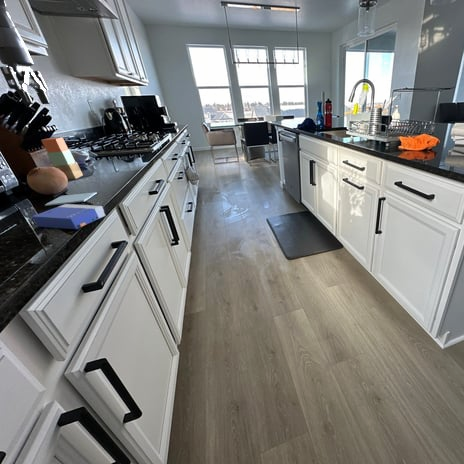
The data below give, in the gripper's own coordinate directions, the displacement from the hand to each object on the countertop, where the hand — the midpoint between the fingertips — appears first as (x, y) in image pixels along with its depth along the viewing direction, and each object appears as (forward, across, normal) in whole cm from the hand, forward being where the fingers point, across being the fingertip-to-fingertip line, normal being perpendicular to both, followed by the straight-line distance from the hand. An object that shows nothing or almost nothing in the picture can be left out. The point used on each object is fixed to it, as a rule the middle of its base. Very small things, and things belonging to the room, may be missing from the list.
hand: (38, 104), depth 87 cm
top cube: (+16, -3, -3) cm, 17 cm away
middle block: (+21, -3, -3) cm, 22 cm away
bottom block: (+27, -3, -3) cm, 27 cm away
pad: (+27, +28, +14) cm, 41 cm away
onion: (+27, +18, +4) cm, 33 cm away
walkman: (+25, +46, +18) cm, 55 cm away
